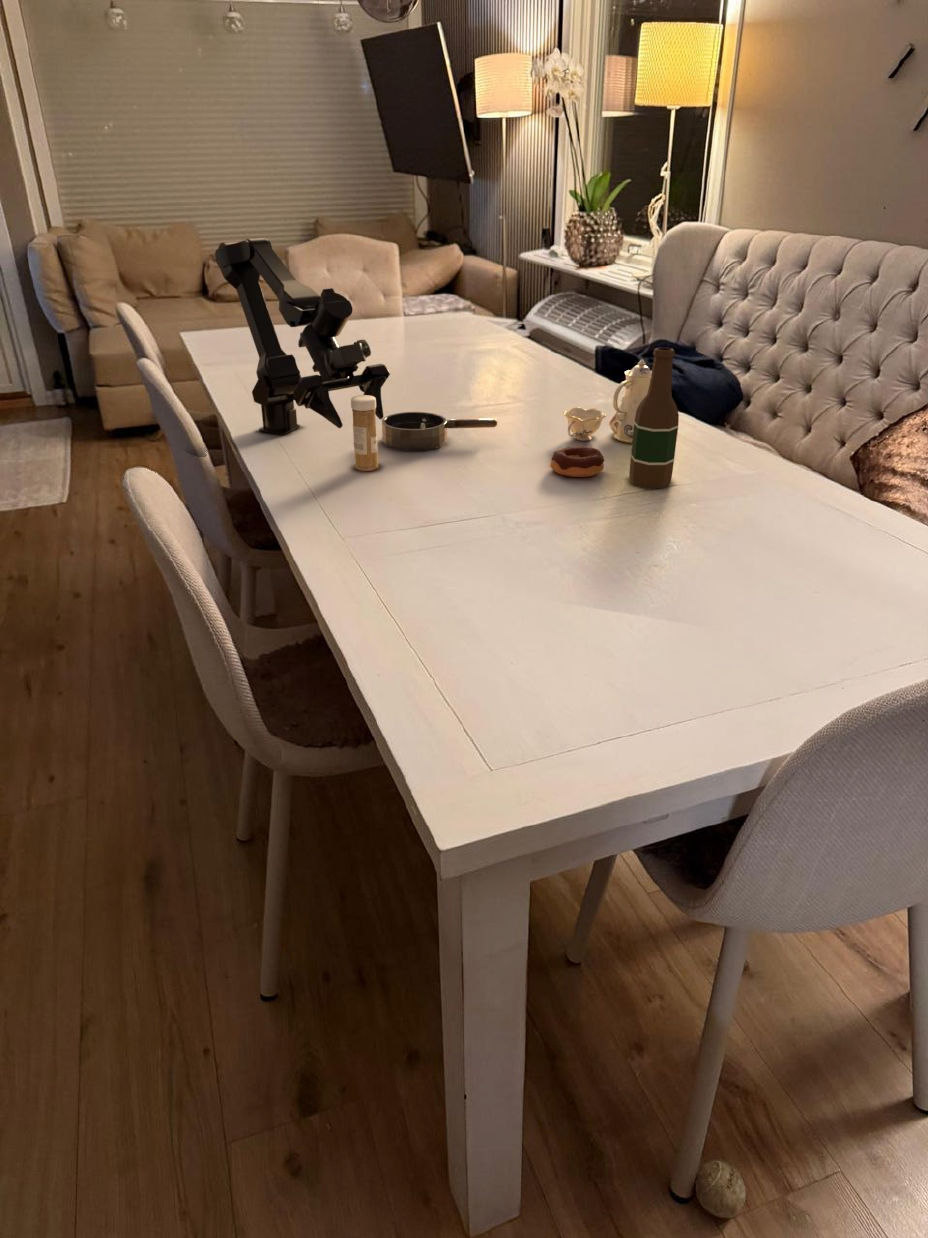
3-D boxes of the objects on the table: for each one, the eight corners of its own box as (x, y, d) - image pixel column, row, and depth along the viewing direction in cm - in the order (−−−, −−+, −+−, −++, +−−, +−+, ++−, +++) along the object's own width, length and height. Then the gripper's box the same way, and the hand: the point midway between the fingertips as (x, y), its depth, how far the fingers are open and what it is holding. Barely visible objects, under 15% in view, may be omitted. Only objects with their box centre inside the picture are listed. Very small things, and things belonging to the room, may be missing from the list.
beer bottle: (673, 477, 167) (690, 345, 156) (668, 491, 160) (684, 354, 149) (632, 472, 169) (645, 342, 158) (624, 486, 163) (638, 351, 151)
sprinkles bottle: (382, 469, 170) (380, 398, 164) (361, 473, 168) (358, 401, 161) (371, 462, 173) (368, 392, 167) (350, 466, 171) (346, 396, 165)
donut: (543, 476, 167) (544, 455, 165) (557, 460, 175) (558, 440, 173) (597, 482, 164) (598, 461, 162) (608, 466, 172) (610, 446, 170)
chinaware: (632, 421, 205) (632, 346, 198) (695, 429, 194) (698, 349, 187) (552, 447, 188) (550, 365, 181) (617, 457, 177) (617, 371, 170)
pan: (383, 452, 179) (382, 430, 177) (381, 433, 190) (380, 412, 188) (449, 450, 180) (449, 428, 178) (443, 431, 192) (443, 410, 189)
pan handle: (445, 429, 184) (445, 420, 183) (444, 427, 185) (444, 418, 184) (497, 428, 185) (498, 419, 184) (496, 425, 186) (496, 417, 186)
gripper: (295, 331, 157) (334, 406, 155) (382, 319, 168) (419, 389, 166) (277, 369, 166) (313, 440, 164) (360, 355, 177) (395, 422, 175)
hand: (361, 422), depth 167 cm, fingers open, 9 cm apart
